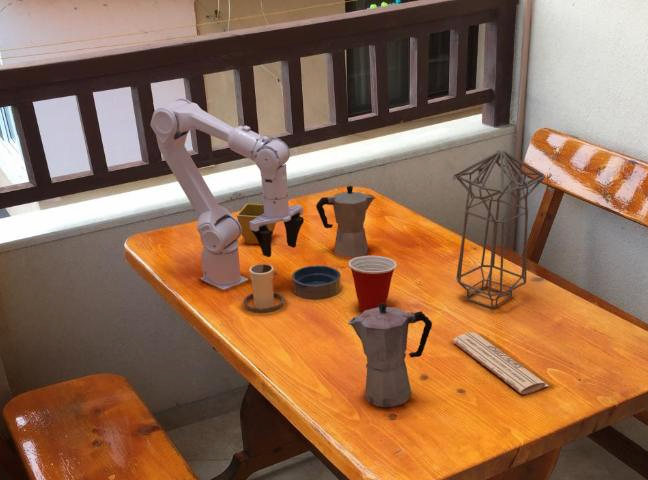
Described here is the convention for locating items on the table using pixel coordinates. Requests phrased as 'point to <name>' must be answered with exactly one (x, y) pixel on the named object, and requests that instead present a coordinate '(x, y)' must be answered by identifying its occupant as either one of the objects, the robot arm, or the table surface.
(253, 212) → the flower pot
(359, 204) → the coffeepot
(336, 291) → the planter
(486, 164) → the geometric lantern
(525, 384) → the newspaper
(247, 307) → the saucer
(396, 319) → the moka pot
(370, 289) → the plastic cup
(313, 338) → the table surface
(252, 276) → the clay pot
